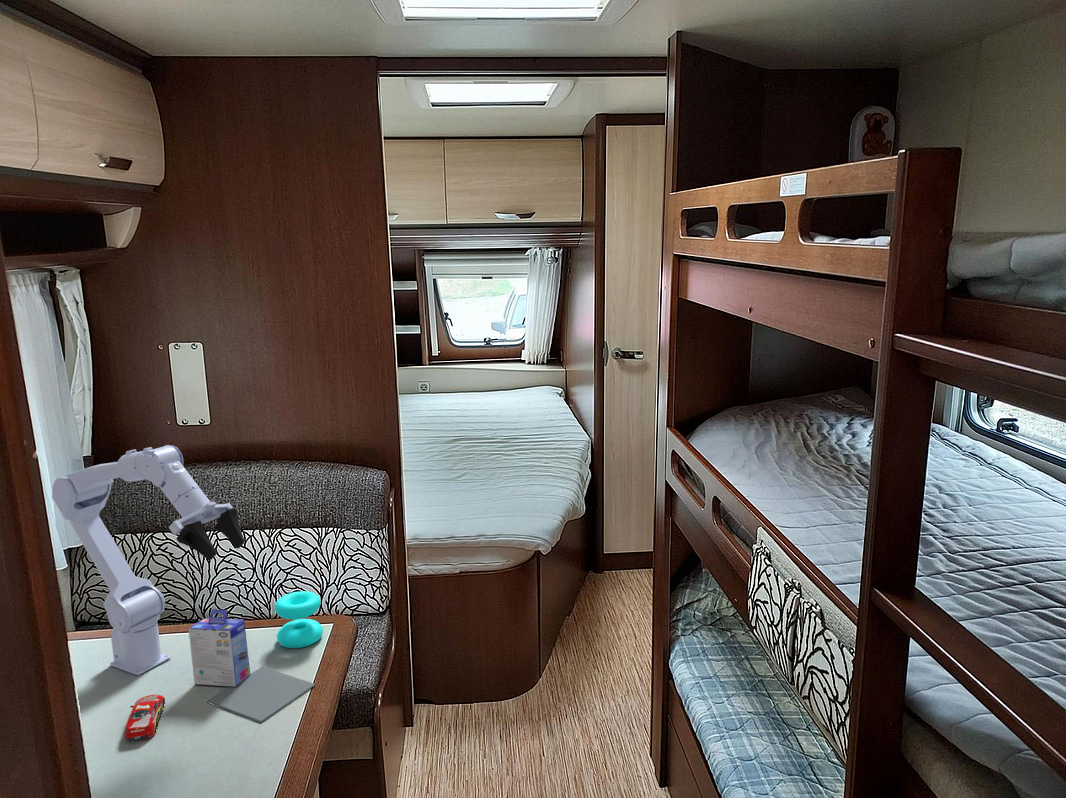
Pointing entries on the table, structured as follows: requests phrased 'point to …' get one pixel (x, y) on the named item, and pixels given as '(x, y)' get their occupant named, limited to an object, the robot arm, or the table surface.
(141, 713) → the race car
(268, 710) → the mat
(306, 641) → the donuts
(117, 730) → the table surface
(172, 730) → the table surface
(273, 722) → the table surface
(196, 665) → the ink cartridge box
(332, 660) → the table surface
